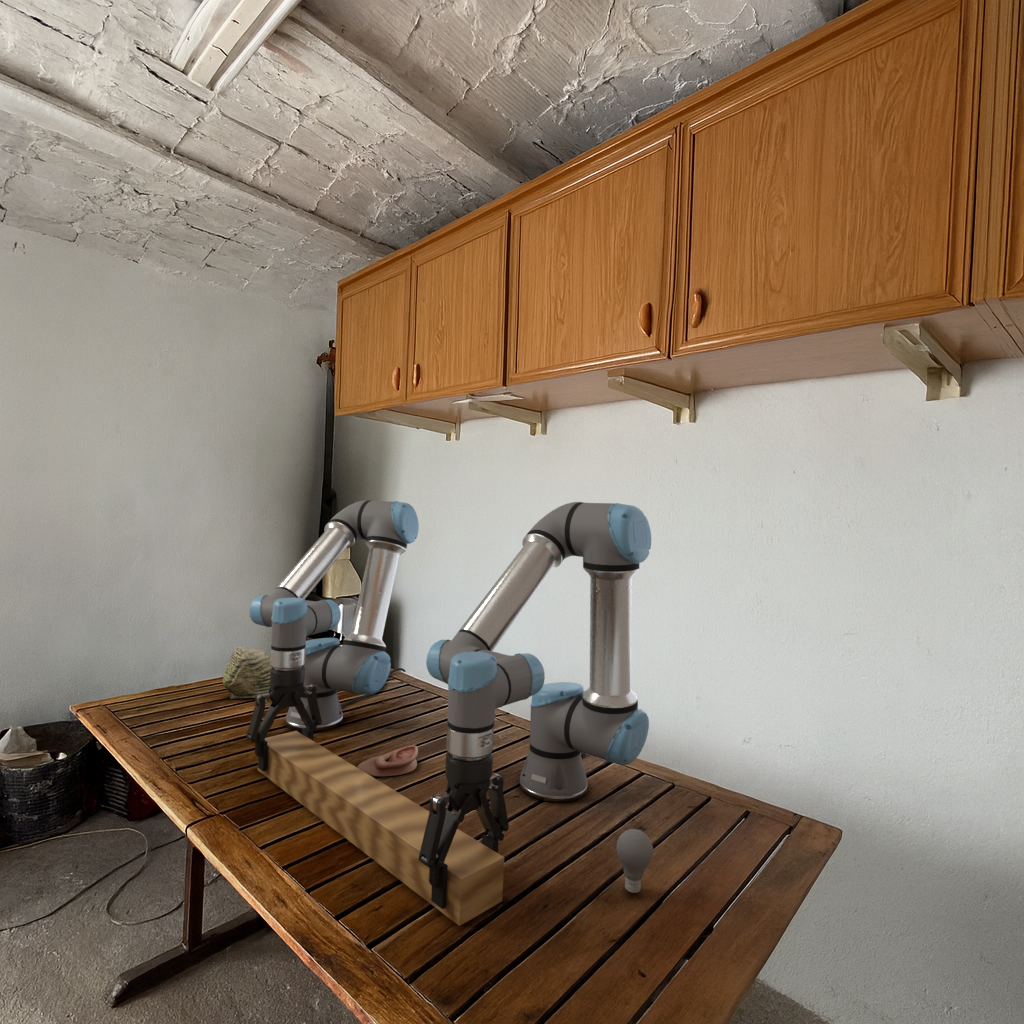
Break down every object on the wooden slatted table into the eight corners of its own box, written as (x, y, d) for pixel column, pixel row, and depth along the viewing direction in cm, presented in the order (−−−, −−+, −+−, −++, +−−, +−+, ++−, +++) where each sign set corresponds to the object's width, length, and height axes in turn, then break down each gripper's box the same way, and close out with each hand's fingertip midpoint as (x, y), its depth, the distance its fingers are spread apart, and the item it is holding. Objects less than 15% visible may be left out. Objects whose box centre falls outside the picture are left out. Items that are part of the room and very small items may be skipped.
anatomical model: (351, 756, 145) (372, 738, 156) (350, 773, 145) (371, 754, 156) (406, 763, 142) (423, 744, 154) (405, 780, 143) (422, 760, 154)
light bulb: (610, 879, 108) (613, 822, 108) (644, 879, 109) (647, 822, 109) (619, 902, 102) (622, 840, 102) (655, 901, 103) (658, 840, 103)
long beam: (257, 770, 145) (258, 739, 145) (295, 760, 152) (296, 730, 152) (459, 926, 95) (461, 879, 95) (502, 901, 102) (504, 857, 102)
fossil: (218, 695, 195) (220, 647, 195) (278, 685, 208) (279, 640, 207) (228, 703, 189) (230, 653, 188) (289, 692, 201) (290, 645, 201)
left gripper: (245, 678, 134) (242, 782, 135) (339, 662, 150) (336, 755, 151) (231, 670, 140) (228, 770, 140) (324, 655, 156) (320, 745, 156)
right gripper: (428, 780, 90) (422, 934, 91) (534, 741, 106) (528, 873, 107) (397, 762, 96) (392, 908, 96) (503, 728, 111) (497, 854, 112)
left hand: (284, 762), depth 145 cm, fingers open, 10 cm apart
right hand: (464, 890), depth 101 cm, fingers open, 10 cm apart
